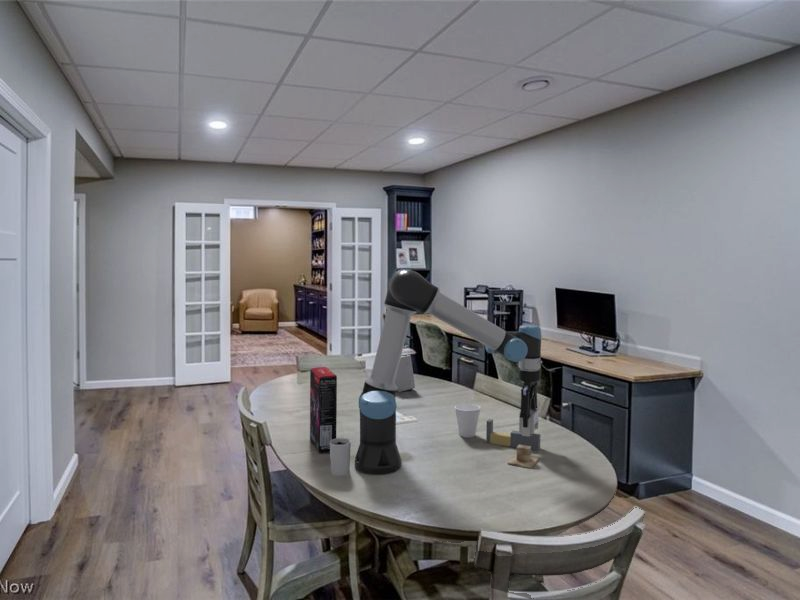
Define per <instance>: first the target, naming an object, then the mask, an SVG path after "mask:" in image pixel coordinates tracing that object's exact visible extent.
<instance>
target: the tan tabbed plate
mask: <svg viewBox="0 0 800 600" xmlns="http://www.w3.org/2000/svg"><path fill="white" fill-rule="evenodd" d="M531 453H532V450H531V446H526V445H520V444H519V445H518V446H517V447H516V452H515V453H514V454H513V456H512V457H511V458H510V459H509V461H508V462H507V465H509V466H514V467H516V466H517V467H521V468H526V469H533V468H534V467H535V465H536V463H537V462H538V461H539V459H540V456H536V455H532V454H531Z"/></svg>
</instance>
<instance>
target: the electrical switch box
mask: <svg viewBox="0 0 800 600" xmlns="http://www.w3.org/2000/svg"><path fill="white" fill-rule="evenodd" d="M395 385H396V386H397V392H398V393H401V392H405V391H409V390H413V389H416V383H415V377H414V370H413V362H412V355H411V354H410V355H407V356H401V359H400V363H399V367H398V371H397V375H396V379H395Z"/></svg>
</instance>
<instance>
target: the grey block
mask: <svg viewBox="0 0 800 600" xmlns="http://www.w3.org/2000/svg"><path fill="white" fill-rule="evenodd" d="M520 413H521V411H519V414H520ZM539 413H540V411H539V408H536V409H534V408H530V415H529V416H530V417H529V418H530V434H535V430H538V429H539V421H540V420H539ZM518 418H519V420H518V421H519V422H518V423H519V424H518V427H519V428H518V429H519V430H518V431H519V432H522V418H520V417H518ZM534 429H535V430H534Z"/></svg>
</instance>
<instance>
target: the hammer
mask: <svg viewBox="0 0 800 600" xmlns="http://www.w3.org/2000/svg"><path fill="white" fill-rule="evenodd" d="M485 439H486V443H487V444H491V445H492V444H493V445H500V446H506V447H513V448H517V446H518V445H519V444H520V445H526V446H531V451H537V452H538V451H540V449H541V433H540V434H539V433H534V434H530V437H528V436H522V432H519V430H512V431H511V432H510V433H504V432H500V431H499V432H498V431H494V419H493V418H492V419H491V418H489V419H487V420H486V438H485Z"/></svg>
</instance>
